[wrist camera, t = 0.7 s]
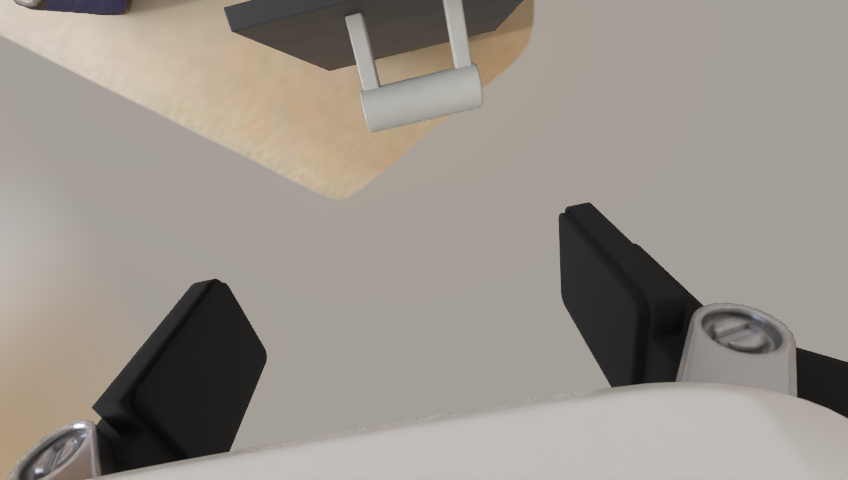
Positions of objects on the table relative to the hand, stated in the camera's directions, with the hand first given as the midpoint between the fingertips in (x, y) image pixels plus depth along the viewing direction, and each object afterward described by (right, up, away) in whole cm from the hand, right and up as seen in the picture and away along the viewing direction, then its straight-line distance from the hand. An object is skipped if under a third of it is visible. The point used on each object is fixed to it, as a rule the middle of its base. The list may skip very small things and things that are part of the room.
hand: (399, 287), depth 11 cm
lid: (0, +13, +10) cm, 17 cm away
